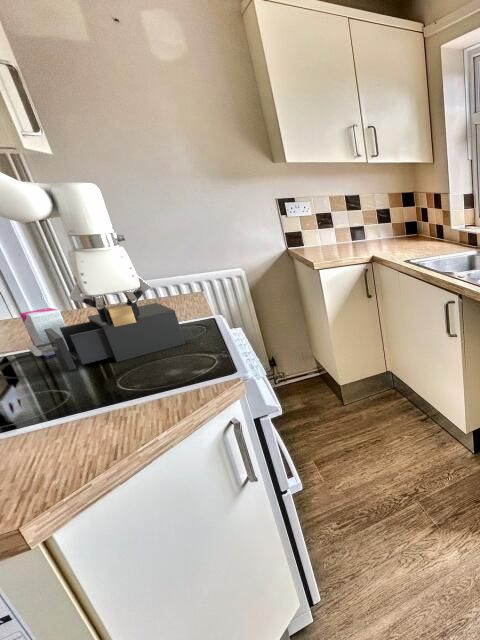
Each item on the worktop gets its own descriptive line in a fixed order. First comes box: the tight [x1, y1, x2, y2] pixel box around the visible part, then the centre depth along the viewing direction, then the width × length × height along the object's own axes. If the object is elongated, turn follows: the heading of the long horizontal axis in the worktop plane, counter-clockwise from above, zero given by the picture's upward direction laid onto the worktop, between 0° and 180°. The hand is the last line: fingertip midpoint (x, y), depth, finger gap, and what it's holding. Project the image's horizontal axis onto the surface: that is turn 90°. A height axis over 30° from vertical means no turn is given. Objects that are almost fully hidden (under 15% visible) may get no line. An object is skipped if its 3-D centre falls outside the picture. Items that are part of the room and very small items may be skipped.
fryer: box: [87, 302, 186, 363], centre depth 111 cm, size 15×14×10 cm
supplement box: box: [19, 307, 70, 359], centre depth 109 cm, size 6×6×12 cm
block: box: [105, 303, 136, 327], centre depth 98 cm, size 4×4×4 cm
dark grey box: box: [27, 321, 114, 371], centre depth 103 cm, size 17×12×8 cm
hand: (122, 321), depth 99 cm, fingers closed on block, 4 cm apart
